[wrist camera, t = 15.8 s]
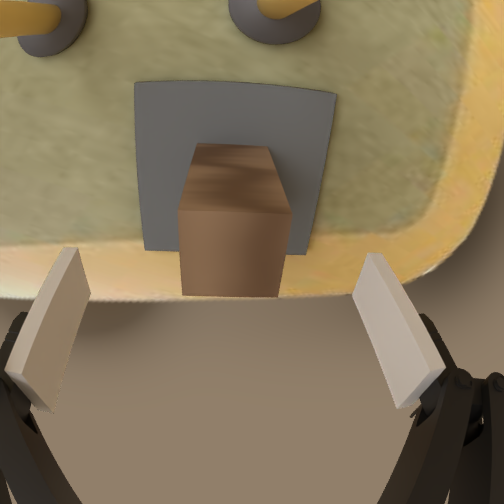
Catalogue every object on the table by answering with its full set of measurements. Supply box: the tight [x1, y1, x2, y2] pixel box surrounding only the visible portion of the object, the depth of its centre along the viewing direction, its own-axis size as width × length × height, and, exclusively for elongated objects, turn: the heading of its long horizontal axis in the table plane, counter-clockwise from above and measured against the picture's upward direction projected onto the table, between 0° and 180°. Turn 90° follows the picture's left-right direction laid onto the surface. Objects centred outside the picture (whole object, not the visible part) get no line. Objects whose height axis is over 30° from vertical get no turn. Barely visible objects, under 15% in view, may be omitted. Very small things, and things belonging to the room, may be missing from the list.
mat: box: [134, 81, 337, 255], centre depth 23 cm, size 14×14×1 cm
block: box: [178, 143, 293, 297], centre depth 19 cm, size 5×5×10 cm
